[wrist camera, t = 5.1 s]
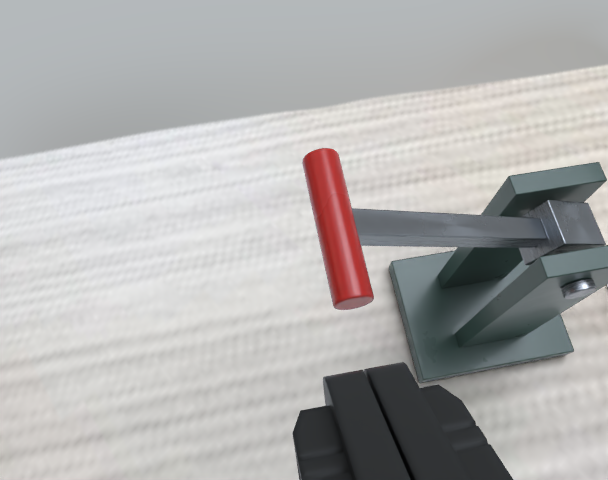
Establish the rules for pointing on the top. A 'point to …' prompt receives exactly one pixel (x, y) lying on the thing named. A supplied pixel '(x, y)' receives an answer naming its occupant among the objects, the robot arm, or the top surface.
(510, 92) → the top surface
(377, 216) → the lever
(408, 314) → the bracket
